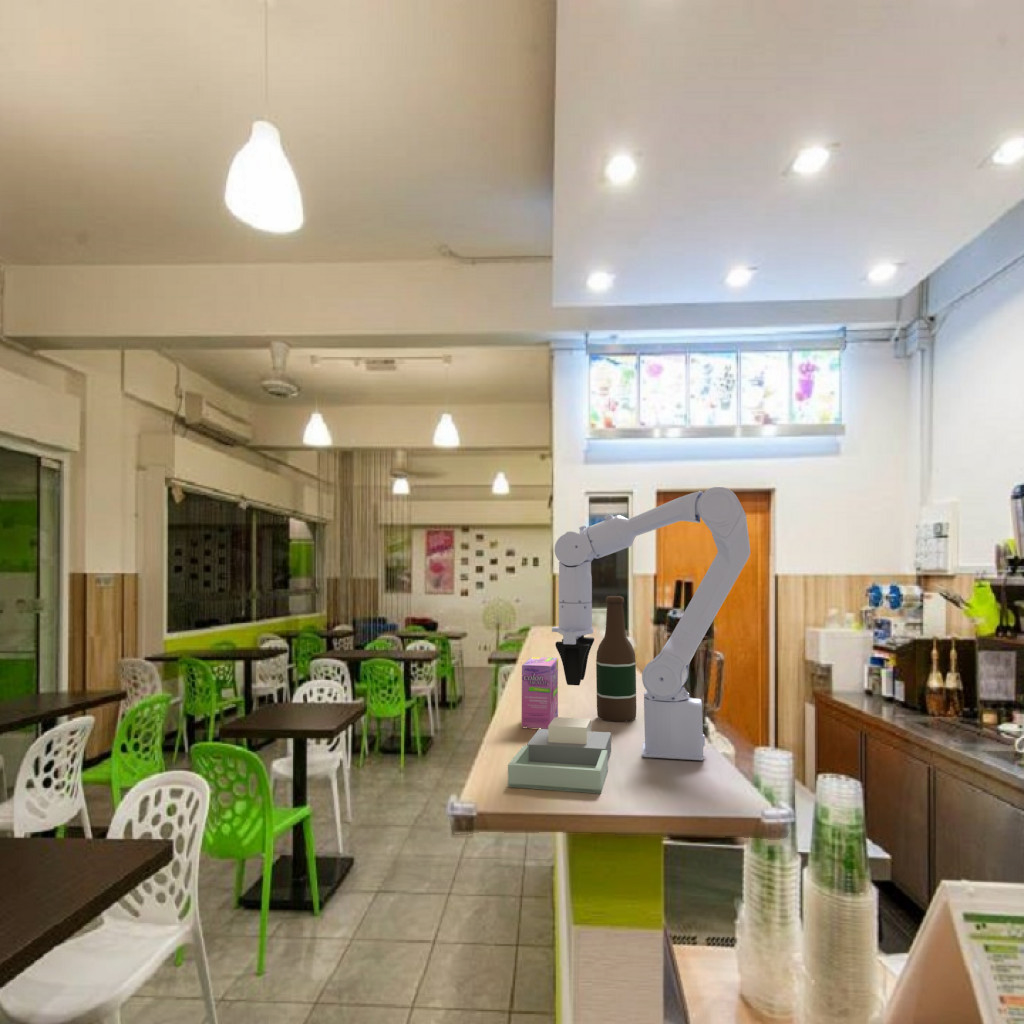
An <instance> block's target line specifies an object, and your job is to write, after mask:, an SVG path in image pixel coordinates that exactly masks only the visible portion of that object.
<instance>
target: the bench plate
mask: <svg viewBox="0 0 1024 1024" xmlns="http://www.w3.org/2000/svg"><path fill="white" fill-rule="evenodd" d="M526 745H527V746H529V762H544V763H560V764H576V765H591V766H596V765H597V762H598V760H599V757H600V754H601V751H602V750H607V752H608V761H609V760H610V759H609V758H610V756H611V754H612V732H611V731H610V732H609V731H607V732H606V731H592V730H591V736H590V738H589V741H588V743H587V744H573V743H555V742H548V729H537V731H536V732H535V734H534V735H532V737H531V739H530V740H528V743H526Z"/></svg>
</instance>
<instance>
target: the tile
mask: <svg viewBox="0 0 1024 1024" xmlns="http://www.w3.org/2000/svg"><path fill="white" fill-rule="evenodd" d="M591 731H592V719H591V718H581V717H579V718H578V717H559V716H558V717H554V719H553V720H552V721H551V723H550V724H549V725H548V742H555V743H573V744H587V743H588V741H589V738H590V736H591Z"/></svg>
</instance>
